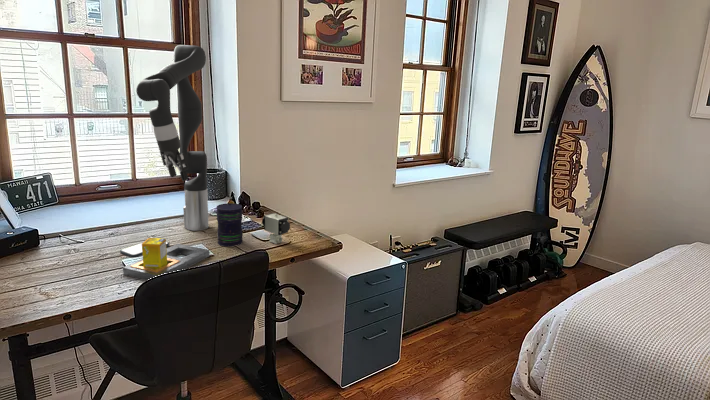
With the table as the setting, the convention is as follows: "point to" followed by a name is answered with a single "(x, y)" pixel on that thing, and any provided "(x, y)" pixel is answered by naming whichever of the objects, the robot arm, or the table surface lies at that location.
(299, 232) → the table surface
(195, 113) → the robot arm
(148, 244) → the supplement box
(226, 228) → the storage jar
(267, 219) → the pneumatic valve
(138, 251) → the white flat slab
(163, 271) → the hole rail
